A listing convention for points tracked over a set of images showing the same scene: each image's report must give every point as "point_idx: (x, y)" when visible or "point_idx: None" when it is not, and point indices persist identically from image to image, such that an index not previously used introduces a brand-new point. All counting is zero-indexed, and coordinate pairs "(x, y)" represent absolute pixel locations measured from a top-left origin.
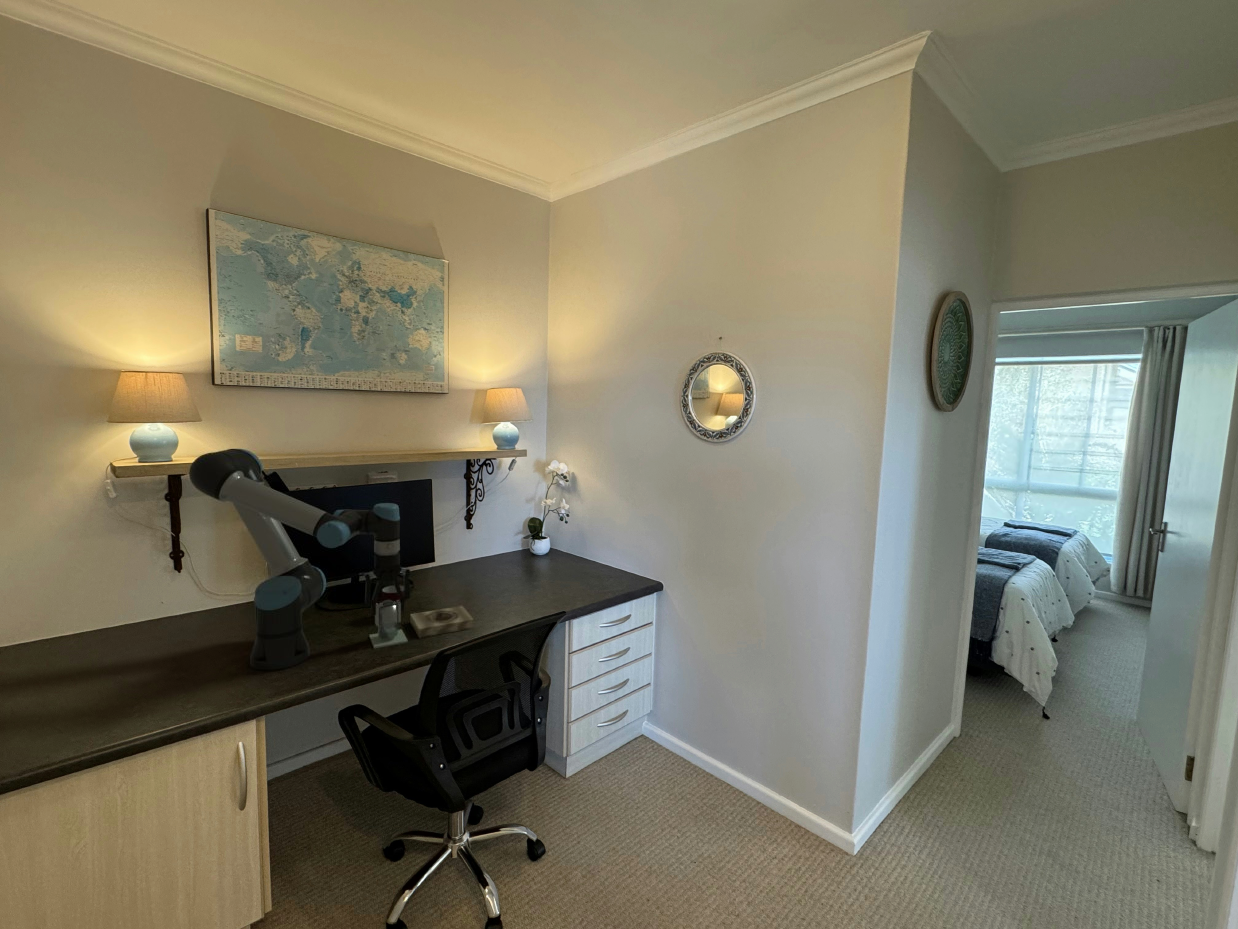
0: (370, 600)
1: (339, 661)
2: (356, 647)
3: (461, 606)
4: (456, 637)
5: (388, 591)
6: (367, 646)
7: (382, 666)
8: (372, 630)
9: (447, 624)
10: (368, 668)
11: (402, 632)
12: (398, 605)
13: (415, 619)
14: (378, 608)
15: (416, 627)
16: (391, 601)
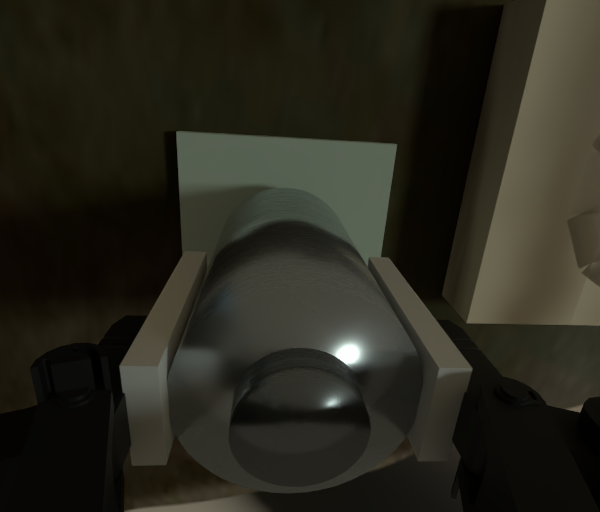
0: (8, 490)
1: (8, 383)
2: (92, 260)
3: None
4: (591, 367)
5: None
6: (156, 275)
7: (202, 491)
8: (213, 14)
9: None
10: (144, 486)
11: (383, 204)
12: (409, 431)
13: (525, 144)
14: (173, 432)
15: (475, 237)
16: (347, 452)
